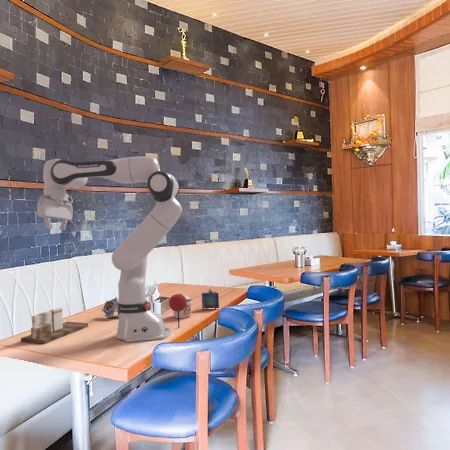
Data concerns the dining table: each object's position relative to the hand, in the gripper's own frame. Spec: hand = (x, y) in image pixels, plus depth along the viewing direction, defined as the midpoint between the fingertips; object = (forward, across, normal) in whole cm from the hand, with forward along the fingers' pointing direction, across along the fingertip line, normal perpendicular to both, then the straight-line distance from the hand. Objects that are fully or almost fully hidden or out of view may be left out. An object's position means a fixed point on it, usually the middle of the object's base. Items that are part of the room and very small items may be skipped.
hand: (56, 229), depth 170 cm
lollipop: (+46, +22, -45) cm, 68 cm away
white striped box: (+43, +9, +7) cm, 44 cm away
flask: (+43, +59, -51) cm, 89 cm away
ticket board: (+45, +8, +7) cm, 46 cm away
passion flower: (+43, +39, -6) cm, 58 cm away
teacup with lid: (+44, +44, -41) cm, 74 cm away
